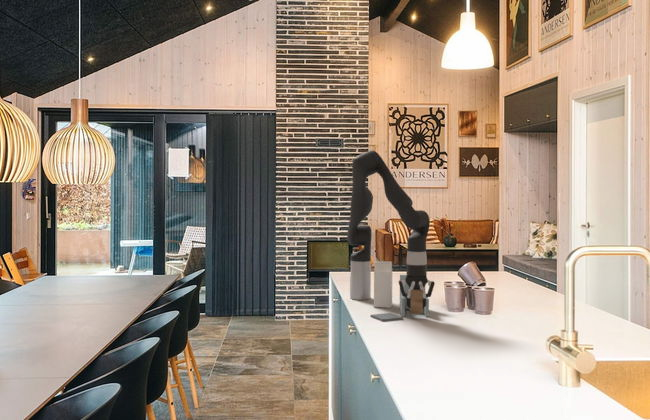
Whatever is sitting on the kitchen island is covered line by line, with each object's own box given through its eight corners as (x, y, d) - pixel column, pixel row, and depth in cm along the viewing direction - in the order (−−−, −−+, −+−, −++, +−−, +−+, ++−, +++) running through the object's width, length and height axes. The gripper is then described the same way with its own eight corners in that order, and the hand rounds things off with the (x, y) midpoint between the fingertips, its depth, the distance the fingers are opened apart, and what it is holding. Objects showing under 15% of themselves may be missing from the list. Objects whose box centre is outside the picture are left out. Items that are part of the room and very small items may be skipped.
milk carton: (390, 308, 236) (391, 262, 235) (373, 307, 237) (374, 262, 237) (392, 304, 243) (392, 260, 242) (375, 304, 244) (375, 260, 244)
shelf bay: (399, 308, 235) (399, 274, 235) (424, 308, 234) (425, 275, 234) (401, 316, 219) (401, 280, 219) (428, 317, 218) (428, 280, 218)
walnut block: (409, 311, 218) (409, 287, 218) (421, 311, 218) (421, 287, 217) (410, 313, 214) (410, 289, 213) (422, 313, 213) (422, 290, 213)
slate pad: (370, 316, 218) (370, 314, 218) (390, 314, 222) (390, 312, 222) (382, 321, 210) (382, 319, 210) (403, 319, 214) (403, 317, 214)
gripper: (398, 264, 212) (397, 309, 212) (436, 264, 211) (436, 310, 211) (397, 261, 219) (396, 305, 220) (434, 262, 218) (434, 306, 219)
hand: (416, 307), depth 216 cm, fingers closed on walnut block, 4 cm apart
